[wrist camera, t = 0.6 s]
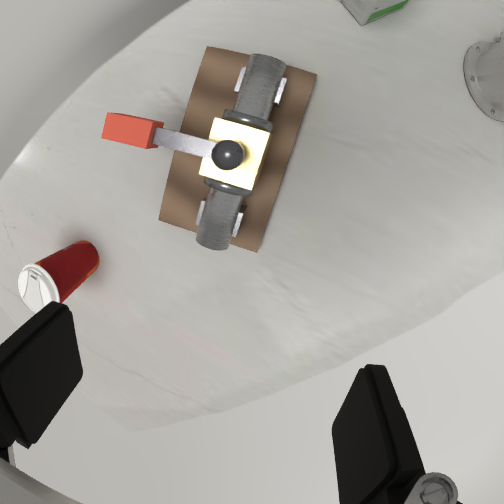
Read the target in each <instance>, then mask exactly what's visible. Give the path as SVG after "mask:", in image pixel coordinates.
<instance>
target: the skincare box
mask: <svg viewBox="0 0 504 504" xmlns="http://www.w3.org/2000/svg"><path fill="white" fill-rule="evenodd" d="M340 1H341V2H342V3H343V4H344V6H345V7H346V8H347V9H348V10H349V11H350V13H351V14H352V15H353V16H354V17H355V19H356V20H357V21H358V22H359V24H360V25H364V24H367V23H369V22H371V21H373V20H376V19H378V18H380V17H383V16H385V15H387V14H390V13H392V12H395V11H398V10H400V9H402V8H404V6H405V5H406V4H407V3H408V2H409V1H410V0H340Z"/></svg>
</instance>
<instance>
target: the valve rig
mask: <svg viewBox="0 0 504 504" xmlns="http://www.w3.org/2000/svg"><path fill="white" fill-rule="evenodd" d="M316 76H317V75H316V74H313V73H310V72H307V71H304V70H301V69H298V68H295V67H292V66H288V65H286V64H285V63H284V62H282V61H280V60H278V59H276V58H273V57H270V56H267V55H262V54H251V55H247V54H243V53H238V52H234V51H229V50H224V49H219V48H214V47H209V46H207V48H206V51H205V54H204V56H203V59H202V62H201V65H200V68H199V71H198V74H197V77H196V80H195V83H194V86H193V89H192V93H191V96H190V99H189V102H188V106H187V109H186V112H185V116H184V119H183V122H182V126H181V129H180V132H181V133H185V134H189V135H193V136H196V137H200V138H204V139H208V140H211V141H215V142H220V141H222V140H235V141H237V142H239V143H240V144H241V145H242V147H243V148H244V152H245V157H244V160H243V162H242V164H241V165H240V166H238V167H237V168H235V169H233V170H229V171H224V170H221V169H219V168H217V167H216V166H215V165H214V163H213V161H212V160H211V159H208V158H204V157H201V156H197V155H193V154H190V153H186V152H183V151H179V150H175V152H174V155H173V159H172V163H171V167H170V171H169V175H168V179H167V184H166V188H165V192H164V197H163V201H162V206H161V210H160V215H159V220H160V221H163V222H166V223H169V224H172V225H175V226H178V227H181V228H184V229H187V230H190V231H193V232H196V233H197V235H196V241H197V242H198V243H199V244H200V245H202V246H204V247H206V248H209V249H213V250H226V249H228V247H229V244H232V245H235V246H238V247H241V248H244V249H247V250H250V251H253V252H256V253H257V252H258V249H259V246H260V243H261V240H262V237H263V234H264V231H265V228H266V225H267V222H268V219H269V216H270V213H271V210H272V207H273V204H274V201H275V198H276V195H277V193H278V190H279V187H280V184H281V181H282V178H283V175H284V172H285V169H286V166H287V163H288V160H289V157H290V154H291V151H292V148H293V145H294V142H295V139H296V136H297V133H298V130H299V127H300V124H301V121H302V118H303V115H304V112H305V109H306V106H307V103H308V100H309V97H310V94H311V91H312V88H313V85H314V82H315V79H316Z"/></svg>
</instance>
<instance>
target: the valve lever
mask: <svg viewBox="0 0 504 504" xmlns="http://www.w3.org/2000/svg"><path fill="white" fill-rule="evenodd" d="M163 125H164V123H163V122H159V121H154V120H150V119H145V118H140V117H136V116H131V115H126V114H120V113H107V116H106V120H105V124H104V129H103V133H102V138H103V139H107V140H112V141H116V142H120V143H124V144H129V145H133V146H137V147H141V148H145V149H149V148H158V145H160V146H164V147H167V148H171V149H175V150H179V151H183V152H186V153H190V154H193V155H197V156H201V157H204V158H208V159H211V160H212V161H213V163H214V165H215V166H216V167H217V168H219V169H221V170H224V171H229V170H233V169H235V168H237V167H238V166H240V165H241V164H242V162H243V160H244V157H245V152H244V148H243V147H242V145H241V144H240V143H239V142H237V141H235V140H222V141H220V142H215V141H211V140H208V139H204V138H200V137H196V136H193V135H189V134H185V133H181V132H177V131H173V130H169V129H164V128H163Z"/></svg>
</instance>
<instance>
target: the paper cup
mask: <svg viewBox="0 0 504 504" xmlns="http://www.w3.org/2000/svg"><path fill="white" fill-rule="evenodd" d="M98 265H99V255H98V252H97V250H96V249H95V247H94V246H93V245H92V244H91V243H89V242H87V241H80V242H77V243H75V244H72V245H70V246H68V247H66V248H64V249H62V250H60V251H58V252H56V253H54V254H52V255H50V256H48V257H46V258H44V259H42V260H40V261H38V262H36V263H34V264H28V265H26V266H25V267H24V268H23V270H22V272H21V274H20V276H19V279H18V287H19V291H20V294H21V297H22V298H23V300H24V302H25V303H26V305H27V306H28V307H29V308H30V309H31V310H32V311H33V312H35V313H37V312H39V311H40V310H41V309H42V308H43V307H45V306H46V305H47V304H48V303H49V302H51V301H56V302H59V303H62V302H63V301H64V300H65V299H66V298H67V297H68V296H69V295H70V294H71V293H72V292H73V291H74V290H75V289H77V288H78V287H79V286H80V285H81V284H82V283H83V282H84V281H85V280H86V279H87V278H88V277H89V276H90V275H91V274H92V273H93V272H94V271H95V270H96V269H97V267H98Z"/></svg>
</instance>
